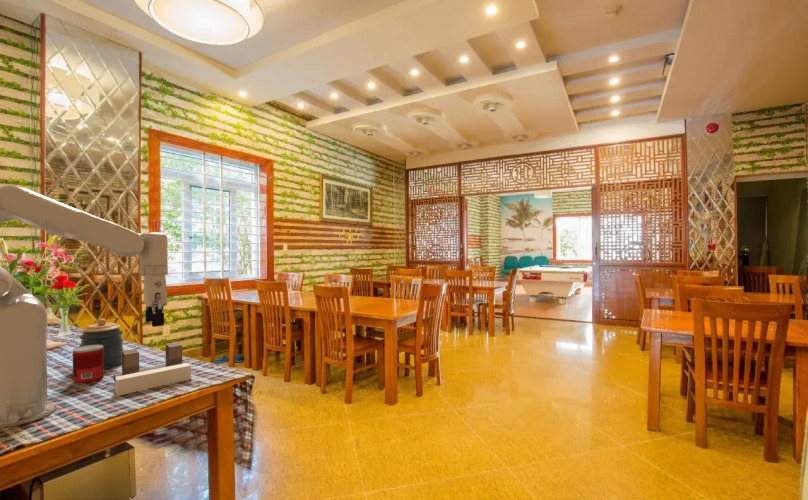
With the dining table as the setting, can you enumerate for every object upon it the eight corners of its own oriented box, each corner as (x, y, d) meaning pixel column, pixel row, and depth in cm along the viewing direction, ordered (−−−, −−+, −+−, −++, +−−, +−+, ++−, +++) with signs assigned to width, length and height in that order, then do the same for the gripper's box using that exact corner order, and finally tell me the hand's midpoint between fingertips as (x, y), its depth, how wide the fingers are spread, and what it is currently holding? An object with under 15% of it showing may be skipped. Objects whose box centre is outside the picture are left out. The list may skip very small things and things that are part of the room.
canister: (120, 357, 150) (120, 314, 150) (126, 365, 141) (125, 318, 141) (77, 365, 141) (77, 318, 141) (81, 373, 132) (80, 323, 132)
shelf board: (191, 380, 126) (190, 365, 126) (117, 396, 113) (117, 380, 113) (187, 377, 129) (187, 362, 129) (115, 392, 116) (115, 376, 115)
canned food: (109, 377, 128) (109, 345, 128) (84, 385, 121) (83, 351, 121) (93, 375, 130) (92, 343, 130) (67, 383, 123) (66, 349, 123)
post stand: (190, 369, 136) (189, 345, 136) (118, 384, 122) (117, 357, 121) (182, 363, 143) (182, 340, 143) (113, 376, 129) (113, 350, 129)
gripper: (174, 271, 117) (174, 326, 117) (161, 269, 129) (162, 318, 130) (145, 273, 112) (146, 330, 112) (135, 270, 124) (135, 321, 124)
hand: (154, 323), depth 121 cm, fingers open, 9 cm apart
